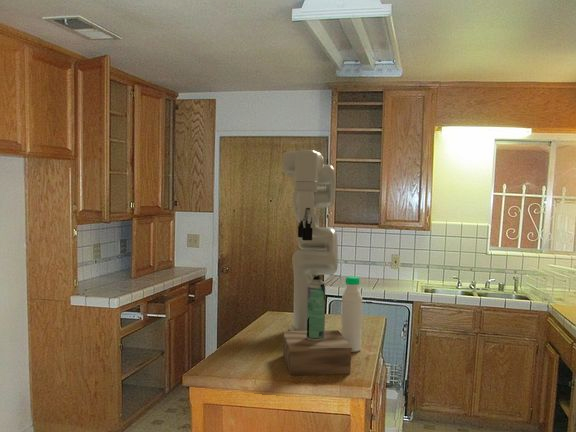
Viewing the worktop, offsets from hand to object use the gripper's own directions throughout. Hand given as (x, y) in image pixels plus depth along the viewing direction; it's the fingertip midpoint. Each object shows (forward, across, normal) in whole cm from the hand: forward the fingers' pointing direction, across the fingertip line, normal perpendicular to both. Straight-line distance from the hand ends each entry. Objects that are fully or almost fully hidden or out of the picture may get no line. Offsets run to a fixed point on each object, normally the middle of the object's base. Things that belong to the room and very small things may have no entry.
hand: (304, 238), depth 169 cm
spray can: (+30, +13, +2) cm, 33 cm away
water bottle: (+38, -1, +17) cm, 42 cm away
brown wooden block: (+38, +13, +2) cm, 40 cm away
